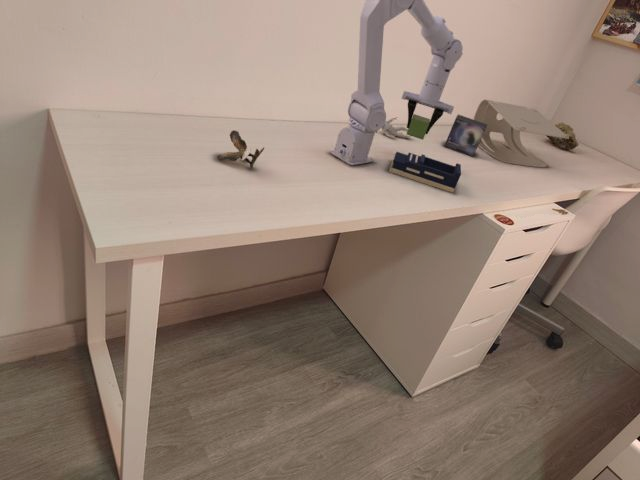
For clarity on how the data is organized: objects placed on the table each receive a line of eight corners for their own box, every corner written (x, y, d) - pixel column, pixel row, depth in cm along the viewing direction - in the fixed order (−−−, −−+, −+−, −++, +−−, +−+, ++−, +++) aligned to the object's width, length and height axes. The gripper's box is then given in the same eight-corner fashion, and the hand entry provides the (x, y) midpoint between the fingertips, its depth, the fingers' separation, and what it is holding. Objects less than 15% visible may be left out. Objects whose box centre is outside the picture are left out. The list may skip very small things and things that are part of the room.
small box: (443, 146, 154) (455, 117, 149) (445, 142, 160) (457, 113, 154) (473, 157, 152) (486, 128, 147) (474, 152, 158) (487, 124, 152)
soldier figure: (409, 145, 150) (383, 129, 144) (399, 149, 154) (373, 134, 148) (412, 124, 152) (386, 108, 146) (402, 129, 156) (376, 114, 150)
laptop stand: (513, 143, 182) (531, 106, 174) (554, 169, 164) (576, 129, 156) (462, 136, 173) (479, 96, 165) (500, 163, 154) (521, 119, 146)
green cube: (423, 139, 129) (429, 123, 126) (406, 134, 129) (412, 117, 126) (423, 135, 133) (430, 119, 130) (407, 130, 133) (413, 113, 131)
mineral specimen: (577, 150, 201) (589, 129, 196) (571, 154, 191) (584, 132, 186) (546, 138, 207) (557, 117, 202) (538, 141, 198) (550, 119, 193)
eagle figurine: (263, 157, 106) (231, 138, 106) (265, 140, 99) (231, 120, 100) (246, 181, 103) (212, 161, 103) (247, 164, 96) (211, 143, 96)
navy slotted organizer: (452, 182, 127) (460, 164, 124) (452, 192, 120) (461, 174, 117) (392, 161, 129) (398, 144, 126) (388, 171, 121) (395, 152, 119)
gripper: (459, 88, 126) (441, 134, 133) (410, 73, 127) (394, 119, 134) (460, 93, 120) (441, 140, 127) (408, 77, 121) (392, 125, 128)
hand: (417, 130), depth 130 cm, fingers closed on green cube, 5 cm apart
